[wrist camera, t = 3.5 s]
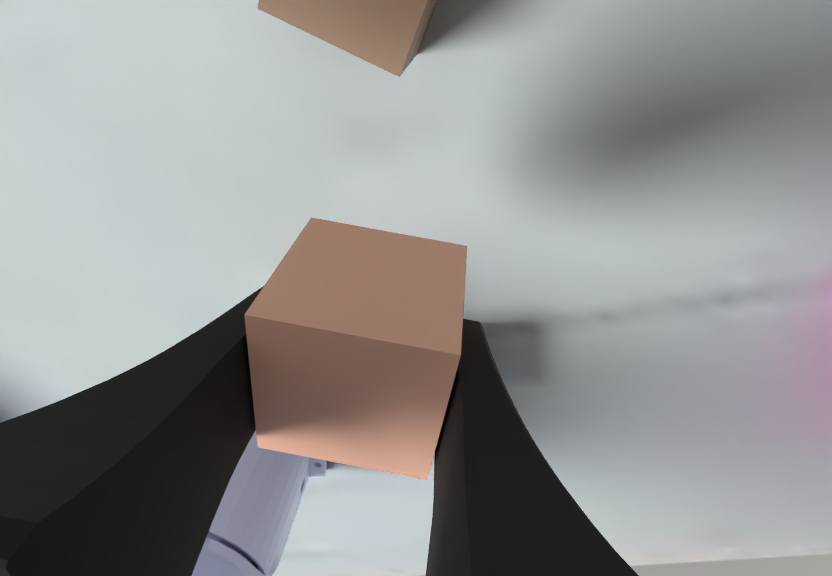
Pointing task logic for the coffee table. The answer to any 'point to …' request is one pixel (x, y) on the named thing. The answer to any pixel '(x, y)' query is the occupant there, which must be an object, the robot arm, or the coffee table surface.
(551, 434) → the coffee table surface
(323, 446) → the terracotta cube
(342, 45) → the walnut cube
